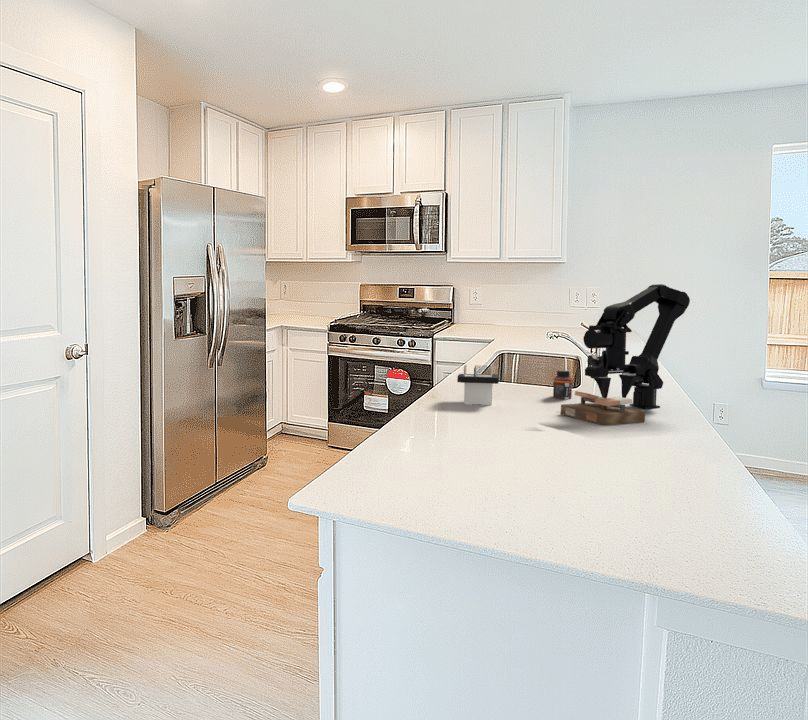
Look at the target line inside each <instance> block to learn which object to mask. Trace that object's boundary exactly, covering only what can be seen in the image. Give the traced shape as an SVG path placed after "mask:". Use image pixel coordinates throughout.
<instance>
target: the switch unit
mask: <svg viewBox="0 0 808 720" xmlns="http://www.w3.org/2000/svg"><path fill="white" fill-rule="evenodd" d="M583 398H584V397H580V403H578V402H577V403H565V404H560V415H561V414H564V415H563V416H565V415H566V416H565V417H569V418H574V419H578V420H582V421H585V422H590V423H592V424H593V423H594V424H598V425H602V426H608V425H609V426H610V425H619V424H620V425H621V424H633V423H642V422H643V423H644V422H645V421H646V410H641V409H637V408H631V407H627V406H626V404H622V405H620V408H617V407H613V406H604V405H599V404H595V403H593V402H586V401H584V400H583Z"/></svg>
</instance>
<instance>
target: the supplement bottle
mask: <svg viewBox="0 0 808 720" xmlns="http://www.w3.org/2000/svg"><path fill="white" fill-rule="evenodd" d="M572 389H573V379H572V377H570V371H569V370H566V369H565V370H564V369H563V370H562V369H561V370H557V371H556V376H554V378H553V390H552V398H554V399H556V400H557V399H558V400H572V397H573V394H572V393H573V390H572Z"/></svg>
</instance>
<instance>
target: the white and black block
mask: <svg viewBox="0 0 808 720" xmlns="http://www.w3.org/2000/svg"><path fill="white" fill-rule="evenodd" d="M482 369H483V370H482ZM477 371H478V372H477ZM485 371H486V372H485ZM499 379H500V376H499V373H498V374H496V373H493V365H492V364H491V365H477V364H475V366H474V368H473V373H467V364H465V365H464V366H463V373H459V374H458V375H457V380H456V381H457V383H461V384H463V383H464V384H463V385H464V387H463V388H464V389H463V390H464V391H463V392H464V393H463V397H464V398H463V405H472V404H481V405H480V406H492V405H493V388H494V386H493V385H494V384H496V385H497V384H498V385H499V383H500V382H499Z"/></svg>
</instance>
